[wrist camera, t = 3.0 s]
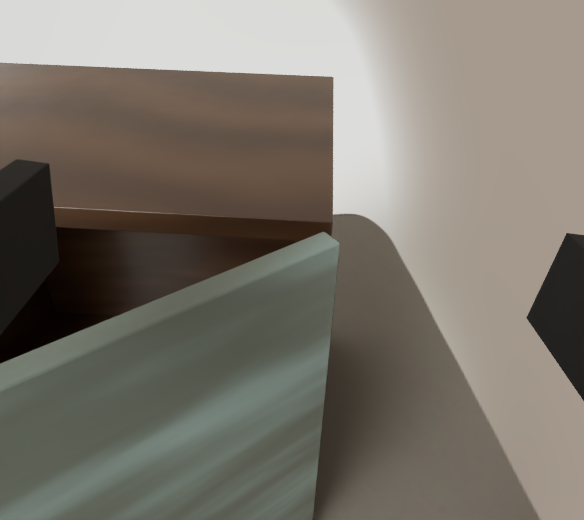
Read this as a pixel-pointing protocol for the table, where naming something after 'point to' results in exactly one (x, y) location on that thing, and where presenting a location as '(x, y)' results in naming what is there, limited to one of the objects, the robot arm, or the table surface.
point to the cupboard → (161, 180)
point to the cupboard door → (179, 402)
